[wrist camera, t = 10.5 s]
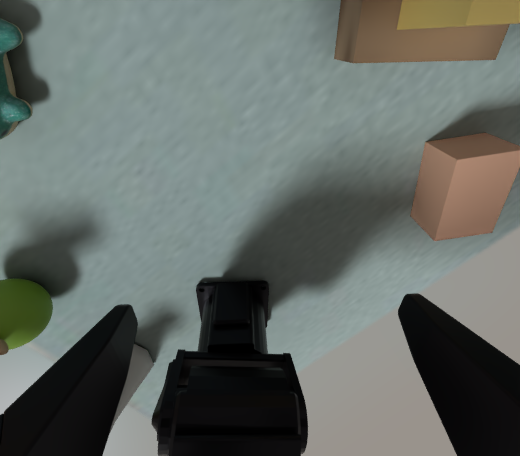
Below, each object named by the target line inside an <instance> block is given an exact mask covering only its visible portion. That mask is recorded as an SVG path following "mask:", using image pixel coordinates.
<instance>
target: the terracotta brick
mask: <svg viewBox="0 0 520 456" xmlns="http://www.w3.org/2000/svg"><path fill="white" fill-rule="evenodd" d="M519 168H520V146H518V145H516V144H513V143H510V142H508V141H505V140H503V139H500V138H498V137H495V136H493V135H490V134H487V133H480V134H473V135H467V136H461V137H454V138H448V139H441V140H435V141H429V142H425V147H424V152H423V157H422V161H421V166H420V171H419V176H418V181H417V186H416V191H415V196H414V201H413V205H412V210H411V215H410V216H411V217H412V218H413V219H414V220H415V221H416V222H417V223H418V224H419V225H420V227H421V228H422V229H423V230H424V231H425V232H426V233H427V234H428V235H429V236H430V237H431V238H432V239H433V240H434V241H438V240H445V239H452V238H459V237H466V236H473V235H479V234H486V233H492V232H493V229H494V227H495V224H496V222H497V220H498V217H499V215H500V213H501V210H502V208H503V206H504V203H505V201H506V199H507V196H508V194H509V191H510V189H511V187H512V184H513V182H514V180H515V177H516V175H517V173H518V170H519Z"/></svg>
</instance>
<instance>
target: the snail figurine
mask: <svg viewBox="0 0 520 456" xmlns="http://www.w3.org/2000/svg"><path fill="white" fill-rule="evenodd" d="M52 310H53V305H52V300H51V297H50V295H49V294H48V292H47V291H46V290H45V289H44V288H43V287H42V286H40V285H39V284H37V283H35V282H32V281H29V280H25V279H5V280H0V355H4V354H6V353H7V352H8V350H9V349H14V348H17V347H20V346H22V345H24V344H26V343H28V342H30V341H32V340H33V339H34V338H36V337H37V336H38V335H39V334H40V333H41V332H42V331H43V330H44V329H45V328H46V326H47V325H48V323H49V321H50V319H51V316H52Z"/></svg>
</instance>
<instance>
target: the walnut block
mask: <svg viewBox="0 0 520 456" xmlns="http://www.w3.org/2000/svg"><path fill="white" fill-rule="evenodd" d="M401 4H402V0H341V5H340V13H339V22H338V31H337V39H336V48H335V56H334V59H337V60H341V61H346V62H350V63H380V62H423V61H465V60H496V57H497V55H498V52H499V50H500V47H501V45H502V42H503V40H504V37H505V35H506V32H507V30H508V27H509V25H510V24H503V25H486V26H467V27H447V28H426V29H406V30H397V25H398V20H399V15H400V10H401Z"/></svg>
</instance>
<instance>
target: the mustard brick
mask: <svg viewBox="0 0 520 456" xmlns="http://www.w3.org/2000/svg"><path fill="white" fill-rule="evenodd" d="M503 24H520V0H402V4H401V10H400V15H399V20H398V25H397V30H406V29H426V28H447V27H467V26H486V25H503Z"/></svg>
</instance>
